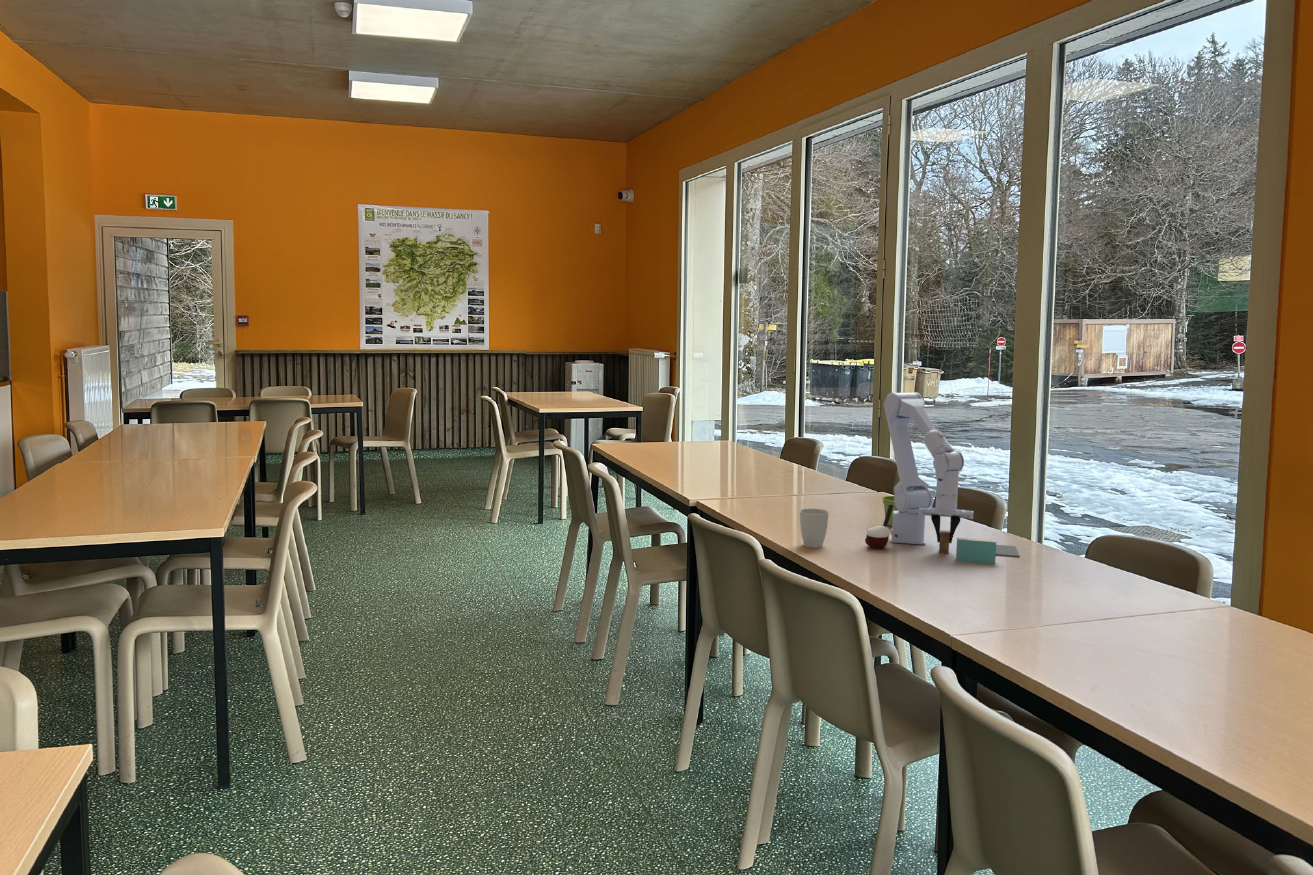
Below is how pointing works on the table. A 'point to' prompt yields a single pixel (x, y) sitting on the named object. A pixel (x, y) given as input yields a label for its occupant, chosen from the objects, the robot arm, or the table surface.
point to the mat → (1006, 551)
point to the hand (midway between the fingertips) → (944, 542)
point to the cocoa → (879, 533)
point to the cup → (813, 526)
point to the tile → (976, 550)
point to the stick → (944, 542)
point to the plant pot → (887, 501)
